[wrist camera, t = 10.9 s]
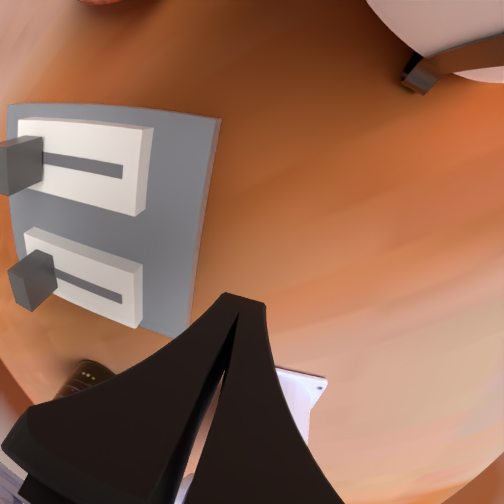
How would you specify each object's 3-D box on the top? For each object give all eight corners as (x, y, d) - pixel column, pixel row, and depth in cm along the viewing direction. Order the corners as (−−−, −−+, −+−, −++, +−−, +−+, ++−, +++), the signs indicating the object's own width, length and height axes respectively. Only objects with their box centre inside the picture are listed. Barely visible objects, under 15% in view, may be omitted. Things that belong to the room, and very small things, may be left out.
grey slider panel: (188, 331, 23) (161, 388, 18) (28, 267, 24) (-11, 299, 19) (222, 118, 16) (179, 125, 10) (18, 103, 17) (-39, 115, 11)
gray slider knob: (42, 180, 16) (9, 196, 13) (25, 177, 16) (-7, 191, 13) (42, 136, 15) (6, 147, 12) (24, 135, 15) (-10, 145, 12)
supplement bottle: (132, 404, 31) (92, 482, 21) (86, 384, 32) (42, 453, 21) (124, 371, 28) (71, 461, 18) (73, 350, 29) (17, 425, 18)
